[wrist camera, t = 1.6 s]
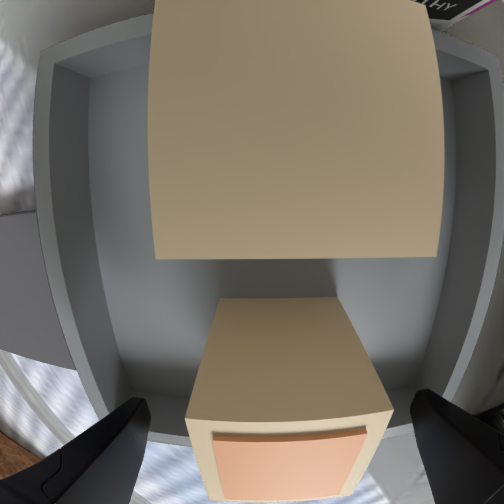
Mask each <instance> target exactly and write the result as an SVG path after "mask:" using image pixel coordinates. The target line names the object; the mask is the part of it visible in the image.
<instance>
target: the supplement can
mask: <svg viewBox="0 0 504 504" xmlns="http://www.w3.org/2000/svg"><path fill="white" fill-rule="evenodd" d="M411 1H414V2H417V3H420V4H423V5H425V6H426V9H427V13H428V17H429V21H430V26H431V28H432V29H435V30H437V31H440V32H442V31H444V30H445V29H447V28H449V27H450V26H452V25H454V24H455V23H457V22H459V21H460V20H462V19H464V18H465V17H467V16H469V15H471V14H472V13H474V12H476V11H478V10H479V9H481V8H483V7H485V6H487V5H489V4H490V3H492V2H494V1H496V0H411Z"/></svg>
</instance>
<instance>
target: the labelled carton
mask: <svg viewBox="0 0 504 504" xmlns="http://www.w3.org/2000/svg"><path fill="white" fill-rule="evenodd" d="M393 411H394V408H393V406H392V404H391V402H390V400H389V397H388V395H387V393H386V391H385V389H384V387H383V385H382V383H381V381H380V379H379V376H378V374H377V372H376V370H375V368H374V366H373V364H372V362H371V360H370V358H369V356H368V354H367V352H366V350H365V348H364V346H363V344H362V342H361V340H360V338H359V336H358V334H357V332H356V331H355V329H354V327H353V325H352V323H351V321H350V319H349V317H348V315H347V313H346V311H345V310H344V308H343V306H342V304H341V302H340V300H339V298H338V297H313V298H219V301H218V305H217V308H216V311H215V315H214V318H213V321H212V325H211V328H210V332H209V335H208V338H207V342H206V345H205V349H204V352H203V356H202V359H201V363H200V366H199V369H198V373H197V376H196V380H195V383H194V387H193V390H192V394H191V398H190V401H189V405H188V408H187V412H186V415H185V421H186V425H187V429H188V433H189V436H190V440H191V443H192V447H193V450H194V454H195V457H196V461H197V464H198V467H199V470H200V473H201V477H202V480H203V483H204V486H205V489H206V492H207V494H208V497H209V500H213V501H226V502H249V503H274V502H296V501H309V500H319V499H327V498H335V497H342V496H348V495H352V493H353V491H354V490H355V488H356V486H357V485H358V483H359V481H360V479H361V478H362V476H363V474H364V472H365V470H366V468H367V467H368V465H369V463H370V461H371V459H372V457H373V455H374V453H375V451H376V449H377V447H378V445H379V443H380V441H381V439H382V436H383V434H384V432H385V430H386V428H387V425H388V423H389V421H390V418H391V416H392V414H393Z"/></svg>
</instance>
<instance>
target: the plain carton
mask: <svg viewBox="0 0 504 504" xmlns="http://www.w3.org/2000/svg"><path fill="white" fill-rule="evenodd" d="M148 167H149V188H150V204H151V217H152V229H153V240H154V249H155V258H156V259H321V258H401V257H436V256H437V250H438V242H439V235H440V226H441V216H442V204H443V189H444V120H443V105H442V94H441V85H440V76H439V69H438V62H437V56H436V50H435V45H434V40H433V35H432V30H431V26H430V21H429V17H428V13H427V9H426V6H425V5H423V4H420V3H417V2H414V1H411V0H155V6H154V14H153V23H152V34H151V46H150V60H149V80H148Z"/></svg>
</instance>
